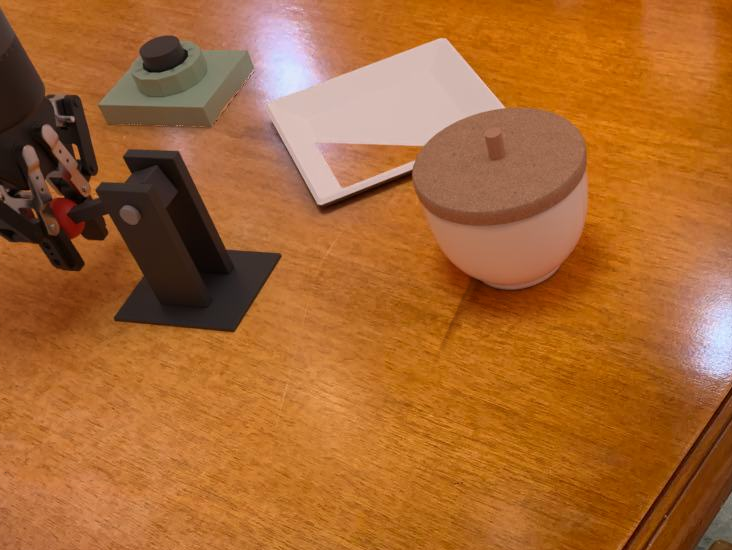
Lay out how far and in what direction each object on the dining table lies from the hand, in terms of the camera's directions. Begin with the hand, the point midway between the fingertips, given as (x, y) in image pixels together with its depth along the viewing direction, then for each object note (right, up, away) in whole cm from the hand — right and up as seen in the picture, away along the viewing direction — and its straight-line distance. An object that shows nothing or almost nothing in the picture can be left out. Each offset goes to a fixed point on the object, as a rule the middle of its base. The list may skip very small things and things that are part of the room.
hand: (84, 252), depth 83 cm
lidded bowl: (+35, -1, -3) cm, 35 cm away
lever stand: (+9, -4, 0) cm, 10 cm away
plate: (+23, +14, +11) cm, 29 cm away
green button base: (+1, +21, +20) cm, 29 cm away
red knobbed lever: (+4, +1, -4) cm, 6 cm away
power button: (0, +23, +17) cm, 29 cm away
